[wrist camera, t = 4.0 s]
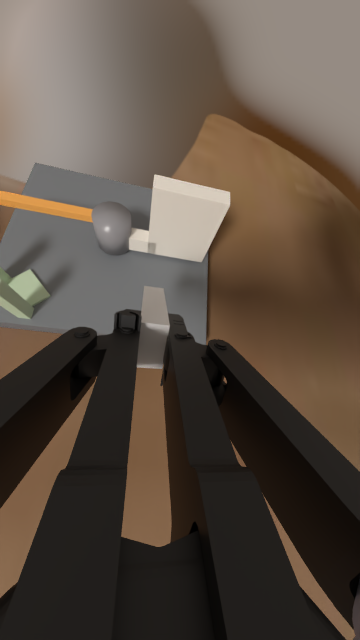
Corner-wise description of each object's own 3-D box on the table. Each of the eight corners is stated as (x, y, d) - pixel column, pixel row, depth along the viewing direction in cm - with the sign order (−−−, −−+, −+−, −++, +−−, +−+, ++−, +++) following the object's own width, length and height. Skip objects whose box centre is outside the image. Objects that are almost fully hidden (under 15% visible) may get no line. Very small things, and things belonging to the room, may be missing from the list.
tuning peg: (202, 244, 29) (229, 183, 20) (201, 270, 27) (230, 215, 19) (21, 210, 25) (-35, 118, 17) (9, 237, 24) (-58, 152, 16)
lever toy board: (205, 212, 34) (224, 161, 27) (200, 348, 27) (226, 330, 19) (41, 177, 30) (11, 106, 23) (-19, 324, 23) (-93, 289, 15)
